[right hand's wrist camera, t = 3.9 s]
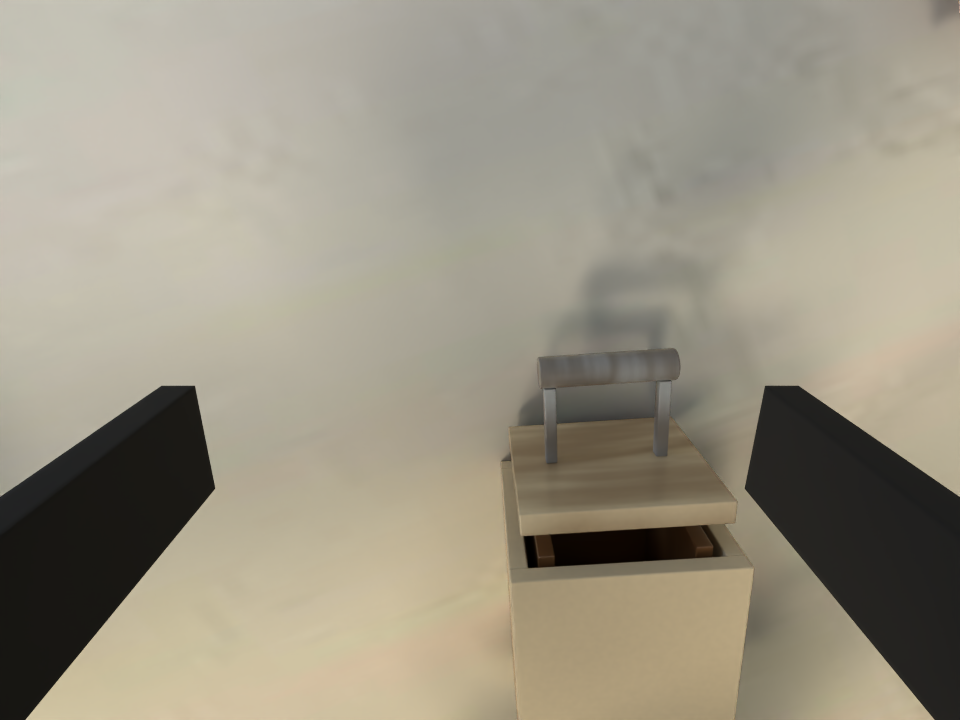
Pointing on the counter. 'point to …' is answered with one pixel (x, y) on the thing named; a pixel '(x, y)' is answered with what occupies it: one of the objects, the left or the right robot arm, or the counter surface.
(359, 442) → the counter surface
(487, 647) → the counter surface
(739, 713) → the counter surface
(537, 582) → the cabinet
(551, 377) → the drawer
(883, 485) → the right robot arm
